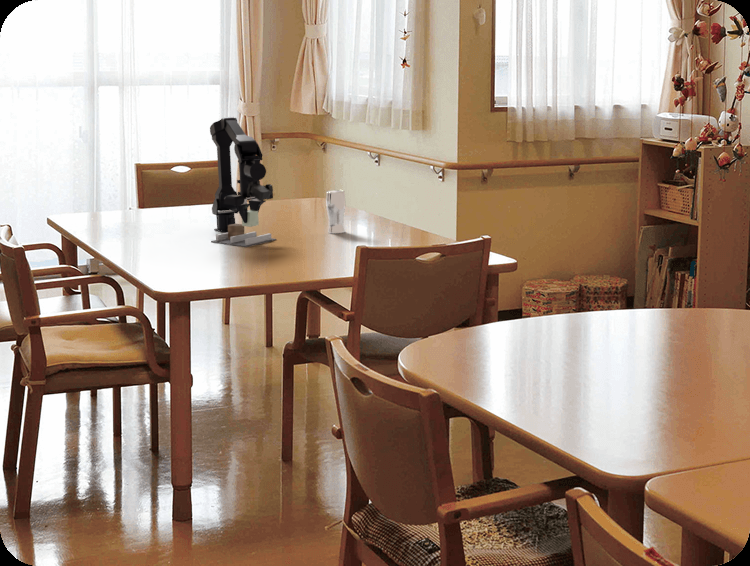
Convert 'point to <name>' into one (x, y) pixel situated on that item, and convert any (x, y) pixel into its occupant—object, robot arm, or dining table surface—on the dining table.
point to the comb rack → (243, 239)
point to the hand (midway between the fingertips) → (250, 222)
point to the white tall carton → (335, 210)
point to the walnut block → (235, 230)
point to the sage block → (251, 219)
